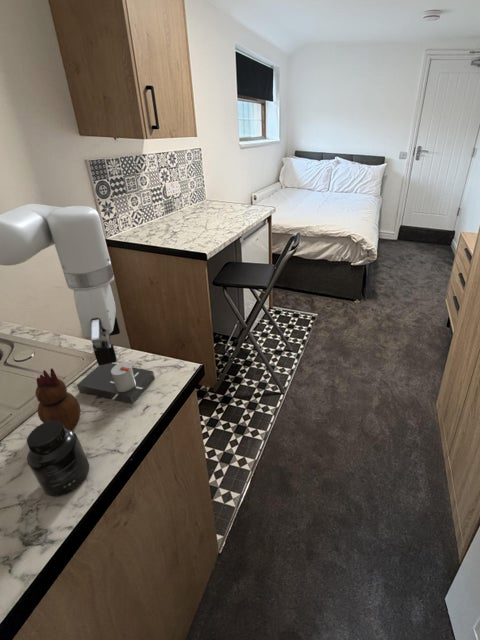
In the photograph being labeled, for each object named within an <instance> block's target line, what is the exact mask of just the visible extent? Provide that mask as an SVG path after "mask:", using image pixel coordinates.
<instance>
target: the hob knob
mask: <svg viewBox="0 0 480 640" xmlns="http://www.w3.org/2000/svg"><path fill="white" fill-rule="evenodd" d="M116 364H117V365H115V366H114V367H113V368H112V370H111V374H112V377H113V380H114V383H115V386H116V389H117V391H119V392H126V391H129V390H131V389H132V388H133V387H134V386H135V384H136V381H135V377H134V373H133V370H132V367H133V366H132V364H131V363H130V362H127V361H125V362H124V361H123V362H119V363H116Z"/></svg>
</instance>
